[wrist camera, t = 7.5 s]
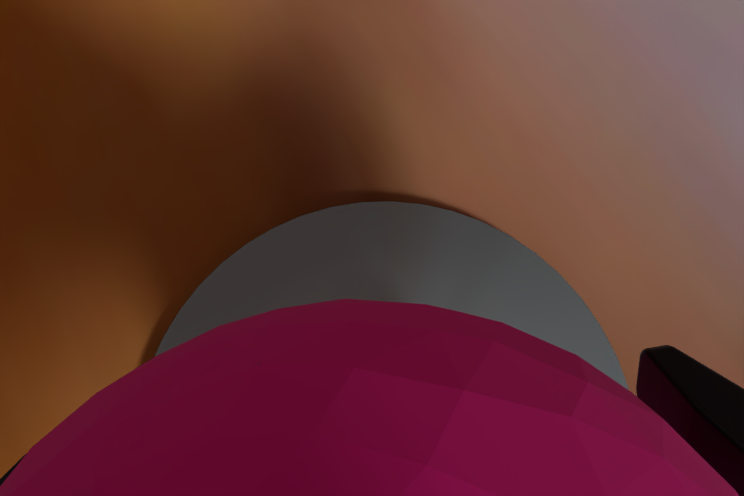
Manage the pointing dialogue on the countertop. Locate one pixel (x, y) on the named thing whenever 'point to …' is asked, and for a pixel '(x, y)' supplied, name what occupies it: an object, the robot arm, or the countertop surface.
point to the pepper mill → (364, 416)
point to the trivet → (397, 275)
